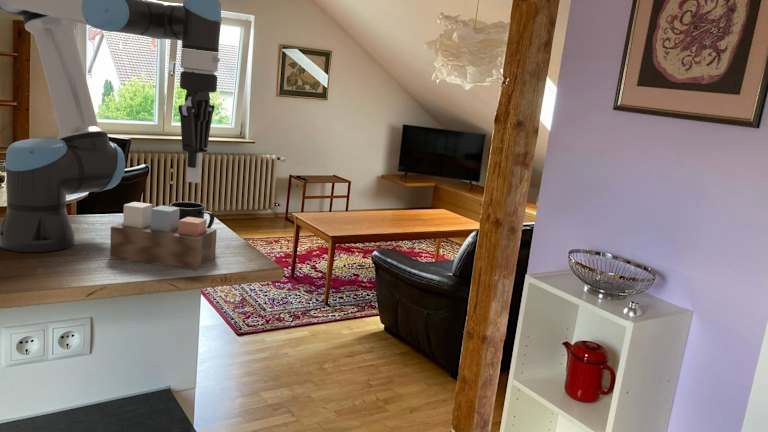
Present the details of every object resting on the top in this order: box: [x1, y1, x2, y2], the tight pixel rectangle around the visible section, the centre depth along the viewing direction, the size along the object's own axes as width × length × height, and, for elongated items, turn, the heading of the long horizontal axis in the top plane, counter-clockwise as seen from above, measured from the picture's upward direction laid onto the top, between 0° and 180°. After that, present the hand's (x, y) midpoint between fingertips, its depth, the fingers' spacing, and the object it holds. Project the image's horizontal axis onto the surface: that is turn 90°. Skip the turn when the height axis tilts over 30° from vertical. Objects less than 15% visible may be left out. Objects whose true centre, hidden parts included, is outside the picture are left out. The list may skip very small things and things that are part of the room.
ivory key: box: [122, 201, 153, 228], centre depth 142 cm, size 4×4×7 cm
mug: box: [169, 201, 216, 229], centre depth 155 cm, size 8×12×10 cm
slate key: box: [151, 205, 180, 232], centre depth 141 cm, size 4×4×7 cm
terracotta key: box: [179, 217, 208, 236], centre depth 141 cm, size 4×4×7 cm
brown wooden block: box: [109, 221, 217, 271], centre depth 142 cm, size 20×10×7 cm, turn 82°
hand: (193, 181), depth 138 cm, fingers closed
